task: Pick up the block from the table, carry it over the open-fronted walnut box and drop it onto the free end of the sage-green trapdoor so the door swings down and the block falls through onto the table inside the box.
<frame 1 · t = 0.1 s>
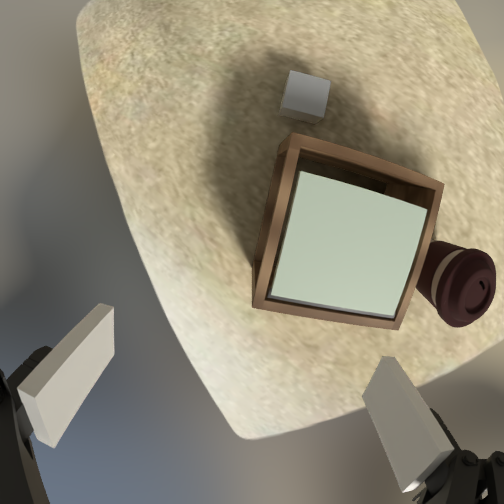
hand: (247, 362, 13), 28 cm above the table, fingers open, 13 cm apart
coffee cup: (419, 259, 41), on the table
block: (300, 102, 35), on the table
trapdoor: (352, 252, 28), point 12 cm above the table, hinge at -0.3°
box frame: (326, 221, 39), on the table
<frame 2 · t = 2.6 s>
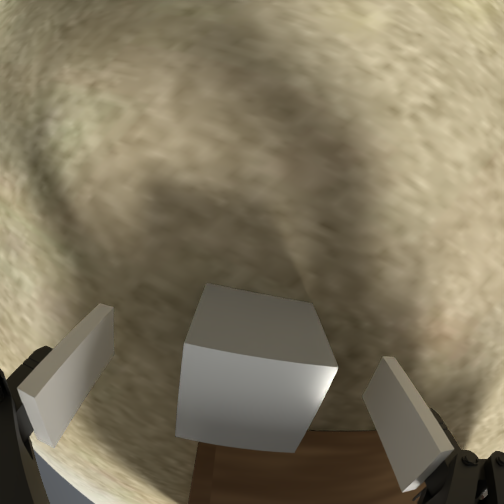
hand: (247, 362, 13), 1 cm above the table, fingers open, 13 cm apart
block: (249, 337, 14), on the table
box frame: (294, 487, 19), on the table
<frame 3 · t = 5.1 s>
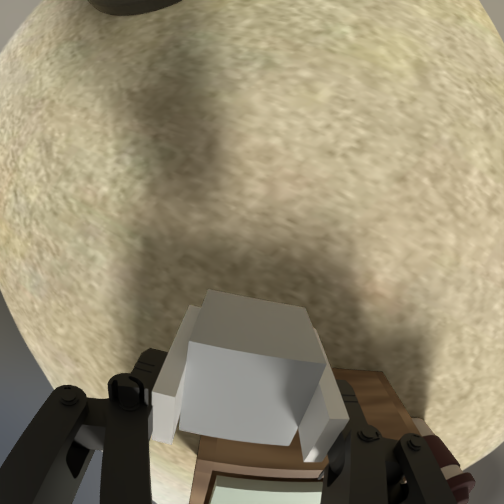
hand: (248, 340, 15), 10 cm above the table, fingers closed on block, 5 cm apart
coffee cup: (400, 434, 30), on the table
block: (247, 340, 15), point 9 cm above the table, touching gripper
box frame: (282, 424, 28), on the table
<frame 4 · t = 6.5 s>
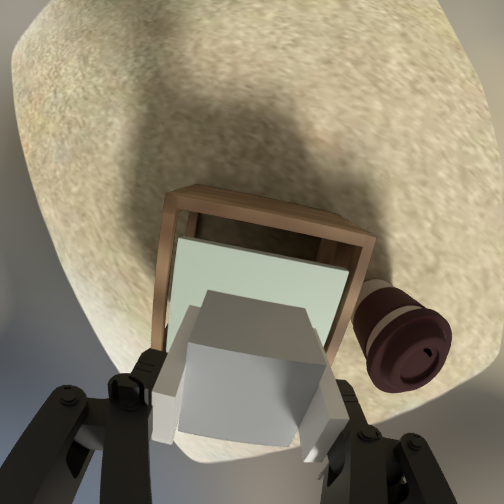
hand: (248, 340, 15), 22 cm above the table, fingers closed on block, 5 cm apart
coffee cup: (370, 301, 38), on the table
block: (246, 341, 15), point 21 cm above the table, touching gripper
trapdoor: (250, 321, 25), point 12 cm above the table, hinge at -0.6°
box frame: (252, 266, 36), on the table
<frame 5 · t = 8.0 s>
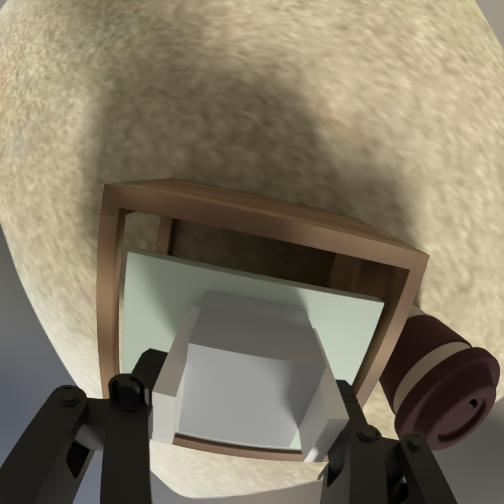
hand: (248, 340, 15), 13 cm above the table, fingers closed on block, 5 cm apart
coffee cup: (393, 329, 29), on the table
block: (247, 341, 15), point 12 cm above the table, touching gripper, trapdoor
trapdoor: (237, 375, 16), point 12 cm above the table, hinge at -3.0°, touching block
box frame: (245, 287, 27), on the table
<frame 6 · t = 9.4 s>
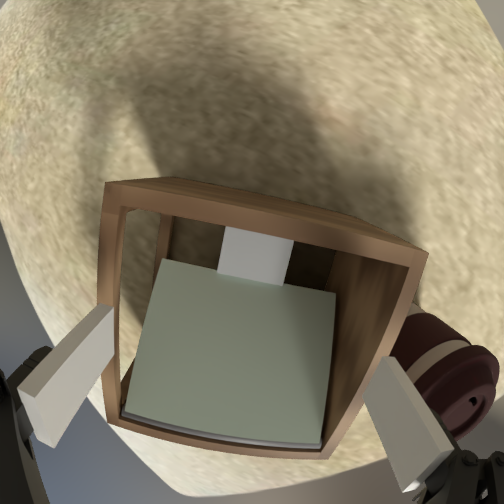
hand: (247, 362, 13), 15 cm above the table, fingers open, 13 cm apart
coffee cup: (393, 328, 29), on the table
block: (250, 269, 24), point 3 cm above the table, tilted 91°, touching box frame, trapdoor
trapdoor: (235, 358, 20), point 8 cm above the table, hinge at -41.7°, touching block
box frame: (245, 285, 28), on the table
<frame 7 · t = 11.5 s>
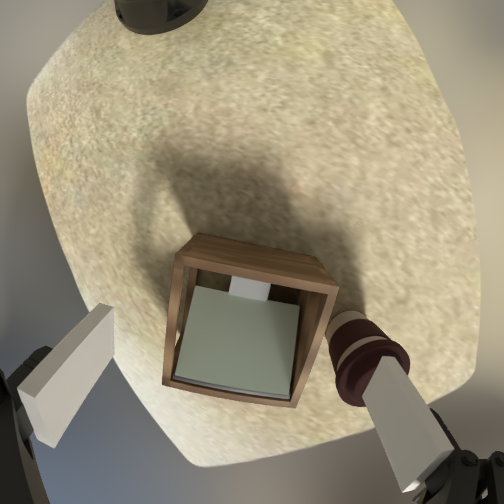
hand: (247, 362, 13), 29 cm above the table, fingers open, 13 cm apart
coffee cup: (346, 329, 45), on the table
block: (247, 291, 40), point 3 cm above the table, tilted 91°, touching box frame, trapdoor
trapdoor: (239, 343, 36), point 8 cm above the table, hinge at -41.7°, touching block
box frame: (244, 300, 43), on the table
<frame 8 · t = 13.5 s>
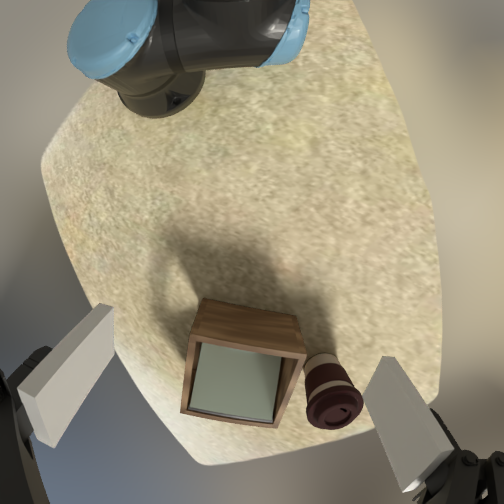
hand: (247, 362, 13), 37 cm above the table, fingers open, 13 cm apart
coffee cup: (321, 365, 56), on the table
trapdoor: (236, 383, 47), point 8 cm above the table, hinge at -41.7°, touching block
box frame: (240, 346, 54), on the table
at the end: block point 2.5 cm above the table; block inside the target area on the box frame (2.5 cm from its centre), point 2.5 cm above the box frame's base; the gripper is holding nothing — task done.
